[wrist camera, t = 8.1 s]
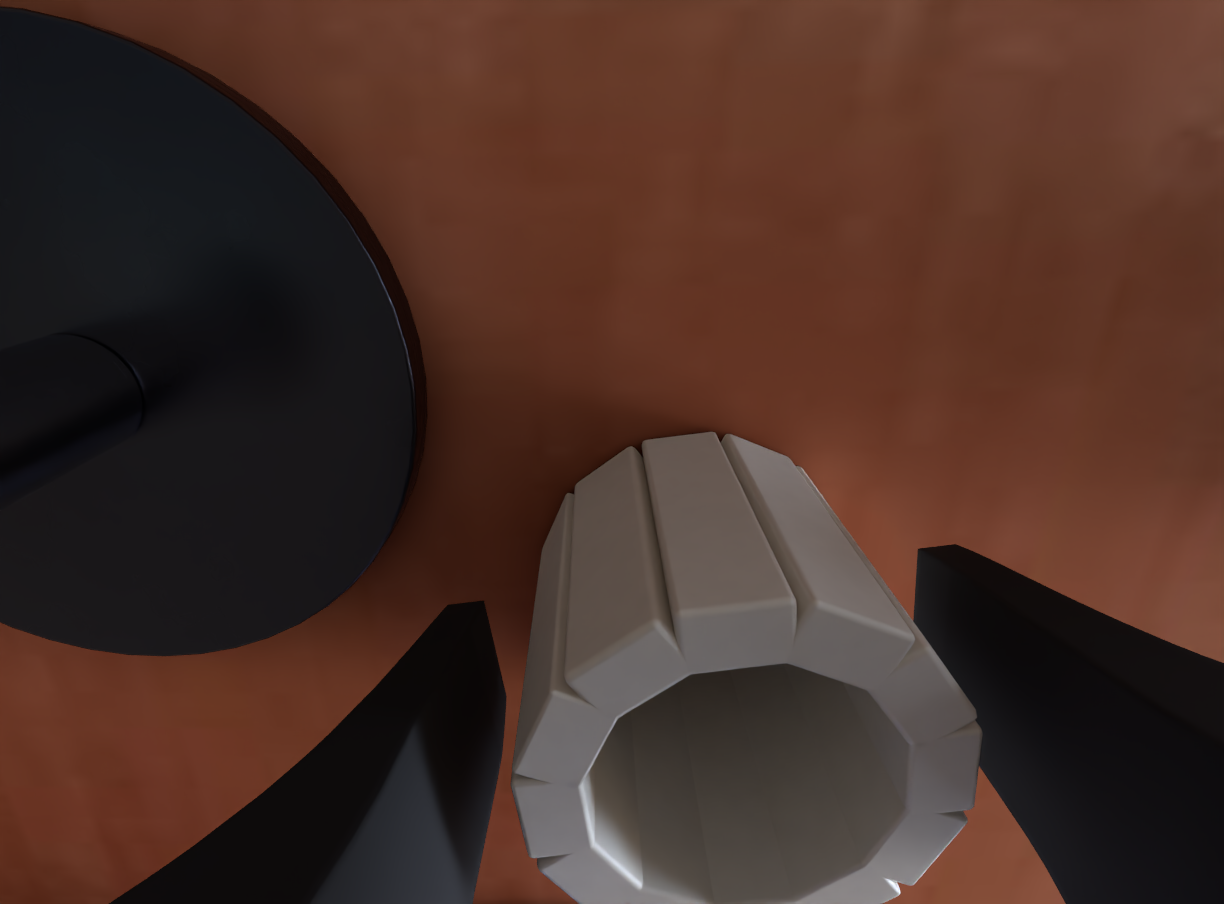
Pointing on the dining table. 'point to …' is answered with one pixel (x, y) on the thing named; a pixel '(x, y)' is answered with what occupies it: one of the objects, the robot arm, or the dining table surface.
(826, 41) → the dining table surface
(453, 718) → the robot arm
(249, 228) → the stand
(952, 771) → the cream faceted cylinder
